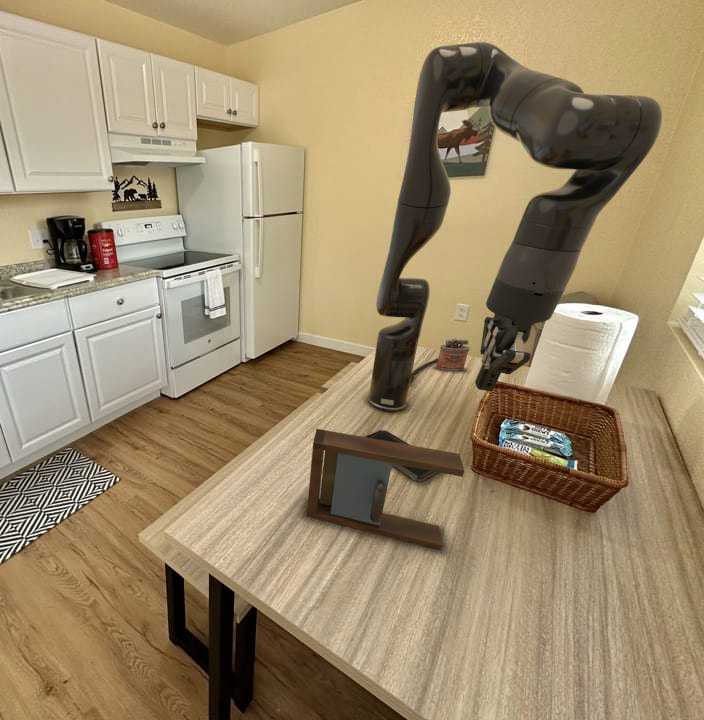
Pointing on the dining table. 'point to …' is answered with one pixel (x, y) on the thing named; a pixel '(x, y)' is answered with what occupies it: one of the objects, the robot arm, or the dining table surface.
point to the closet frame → (381, 452)
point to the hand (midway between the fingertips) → (483, 387)
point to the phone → (409, 471)
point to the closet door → (360, 488)
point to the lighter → (453, 355)
